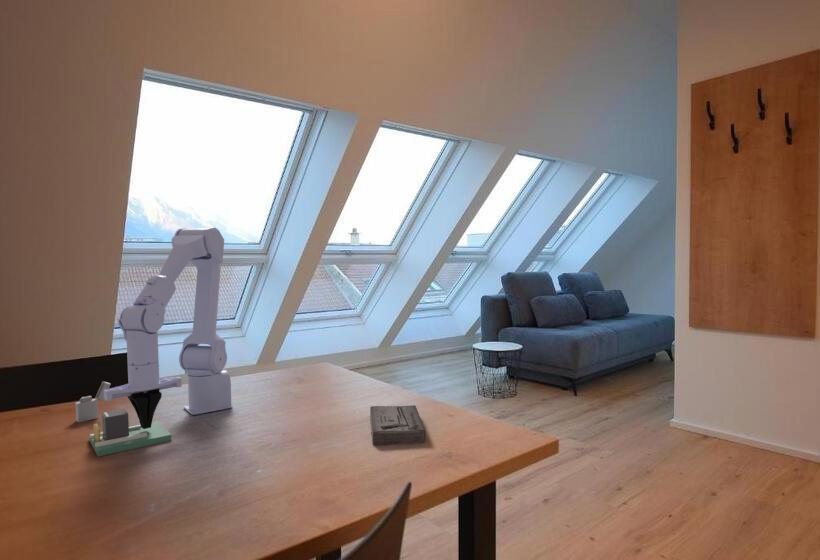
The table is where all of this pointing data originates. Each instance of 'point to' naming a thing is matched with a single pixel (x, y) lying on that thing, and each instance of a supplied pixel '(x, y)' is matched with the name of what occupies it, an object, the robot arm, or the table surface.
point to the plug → (115, 424)
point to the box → (396, 425)
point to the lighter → (90, 405)
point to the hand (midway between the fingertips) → (145, 427)
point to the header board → (129, 439)
